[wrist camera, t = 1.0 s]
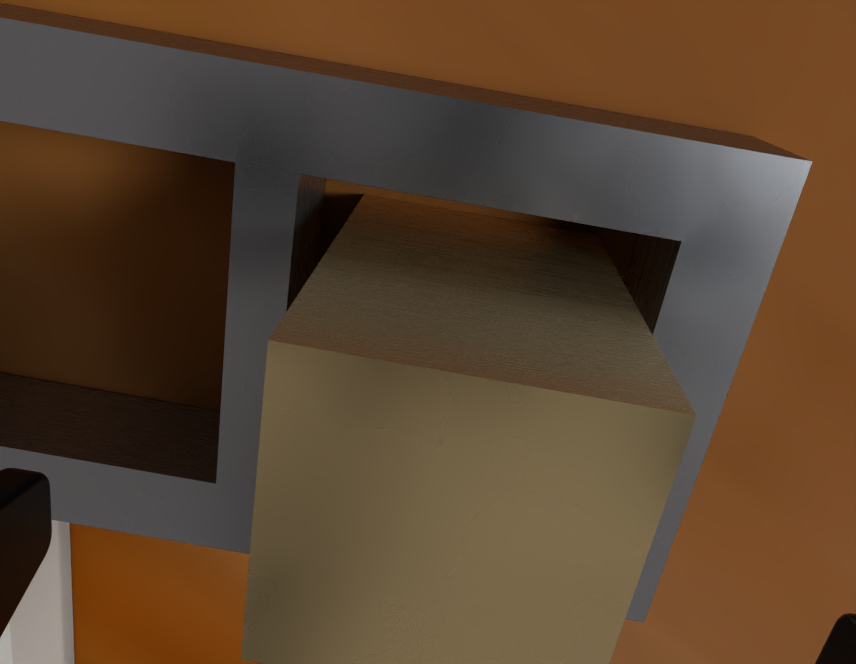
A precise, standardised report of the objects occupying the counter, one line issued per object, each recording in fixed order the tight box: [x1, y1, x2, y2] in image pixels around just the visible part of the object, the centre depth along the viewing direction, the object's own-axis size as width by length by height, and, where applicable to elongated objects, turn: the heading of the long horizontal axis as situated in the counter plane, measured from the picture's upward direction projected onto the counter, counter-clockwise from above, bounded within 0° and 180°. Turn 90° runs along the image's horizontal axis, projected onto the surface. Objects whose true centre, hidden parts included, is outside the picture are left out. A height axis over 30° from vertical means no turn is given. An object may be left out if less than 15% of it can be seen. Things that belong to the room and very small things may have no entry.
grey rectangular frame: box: [0, 3, 812, 622], centre depth 14 cm, size 9×16×2 cm, turn 81°
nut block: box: [241, 194, 697, 664], centre depth 12 cm, size 4×4×7 cm
